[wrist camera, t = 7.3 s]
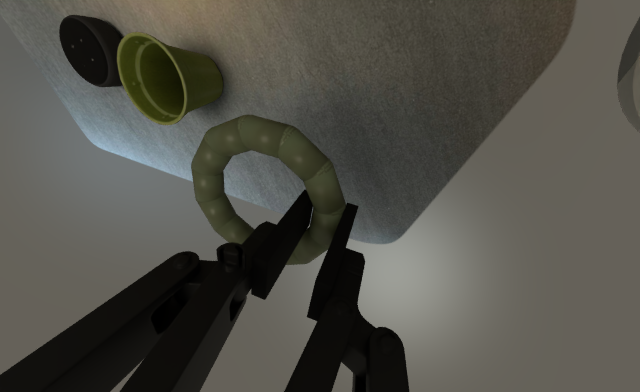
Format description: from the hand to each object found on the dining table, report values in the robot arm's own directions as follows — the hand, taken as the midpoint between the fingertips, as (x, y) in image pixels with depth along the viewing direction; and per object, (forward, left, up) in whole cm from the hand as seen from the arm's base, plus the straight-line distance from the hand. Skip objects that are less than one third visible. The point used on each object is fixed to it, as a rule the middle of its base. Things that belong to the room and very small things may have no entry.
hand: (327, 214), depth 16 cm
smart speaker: (+41, -3, -18) cm, 45 cm away
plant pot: (+24, -3, -18) cm, 31 cm away
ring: (+4, 0, +1) cm, 4 cm away
